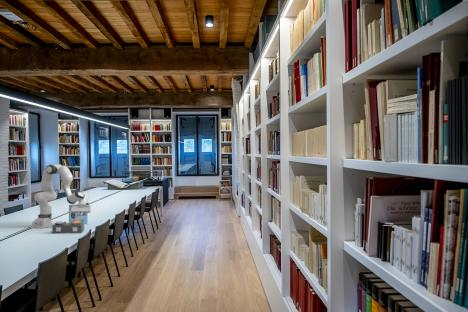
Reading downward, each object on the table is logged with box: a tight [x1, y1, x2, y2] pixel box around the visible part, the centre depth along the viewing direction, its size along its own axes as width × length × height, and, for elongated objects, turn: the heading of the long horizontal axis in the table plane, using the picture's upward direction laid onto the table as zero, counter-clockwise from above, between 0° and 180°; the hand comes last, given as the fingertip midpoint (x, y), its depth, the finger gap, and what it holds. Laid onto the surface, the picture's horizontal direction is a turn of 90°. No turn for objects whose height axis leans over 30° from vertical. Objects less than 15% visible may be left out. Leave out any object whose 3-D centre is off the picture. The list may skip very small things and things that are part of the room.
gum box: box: [68, 203, 89, 225], centre depth 394 cm, size 20×5×23 cm, turn 123°
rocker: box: [73, 220, 81, 225], centre depth 354 cm, size 7×6×2 cm
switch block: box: [51, 221, 85, 234], centre depth 353 cm, size 28×10×10 cm, turn 98°
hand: (79, 215), depth 362 cm, fingers closed
